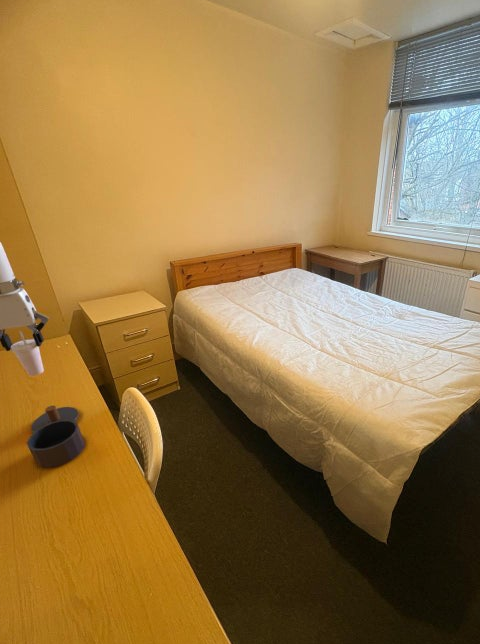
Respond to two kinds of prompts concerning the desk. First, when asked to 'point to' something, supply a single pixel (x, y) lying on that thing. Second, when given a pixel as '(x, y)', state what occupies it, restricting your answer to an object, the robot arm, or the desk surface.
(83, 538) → the desk surface
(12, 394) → the desk surface
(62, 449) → the pot
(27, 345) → the smoothie
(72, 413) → the lid
